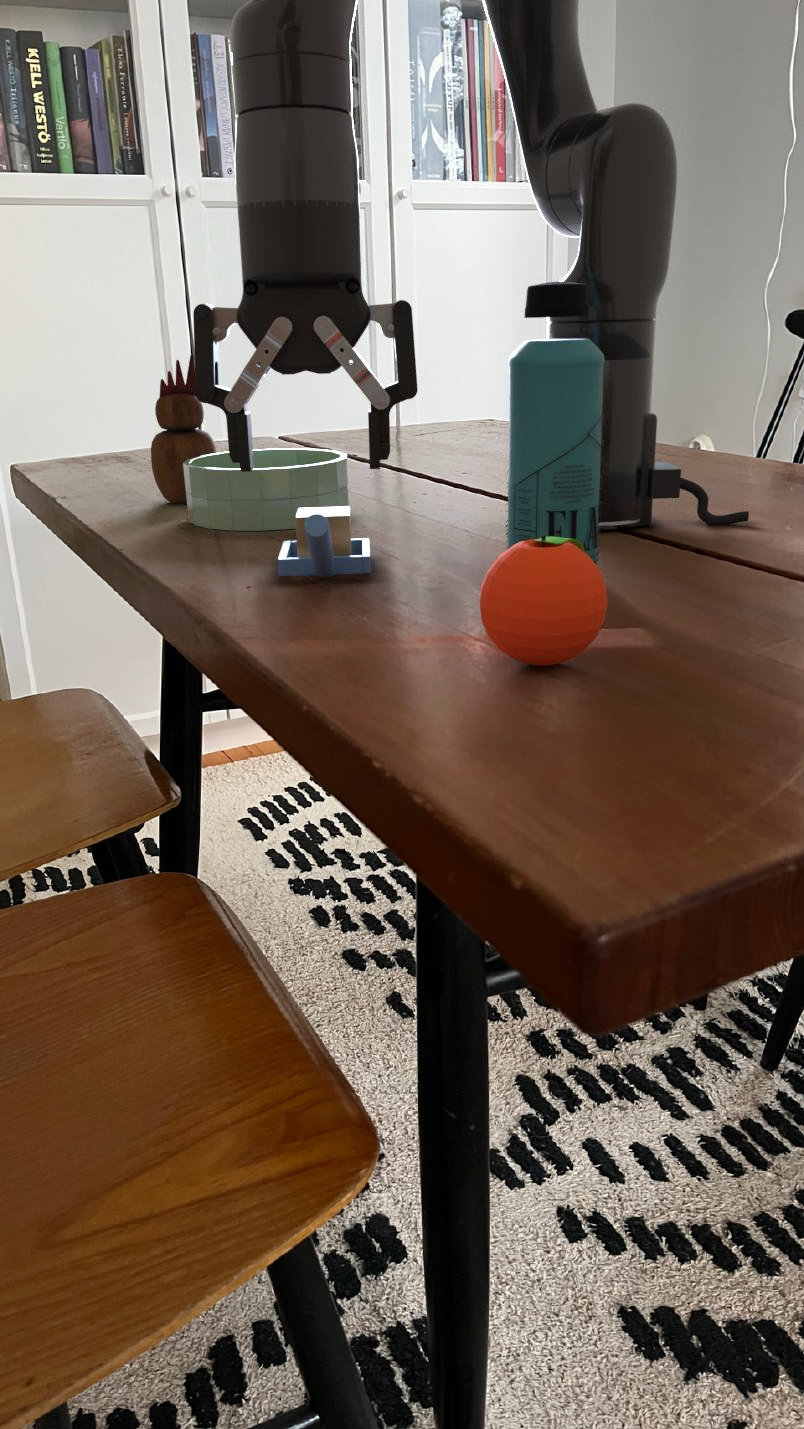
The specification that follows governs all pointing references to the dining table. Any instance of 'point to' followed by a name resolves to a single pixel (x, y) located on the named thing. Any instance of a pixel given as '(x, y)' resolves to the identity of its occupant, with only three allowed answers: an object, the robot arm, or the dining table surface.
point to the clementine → (543, 601)
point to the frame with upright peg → (322, 553)
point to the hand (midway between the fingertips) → (311, 469)
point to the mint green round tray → (263, 488)
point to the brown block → (337, 524)
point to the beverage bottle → (555, 427)
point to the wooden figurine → (178, 433)
